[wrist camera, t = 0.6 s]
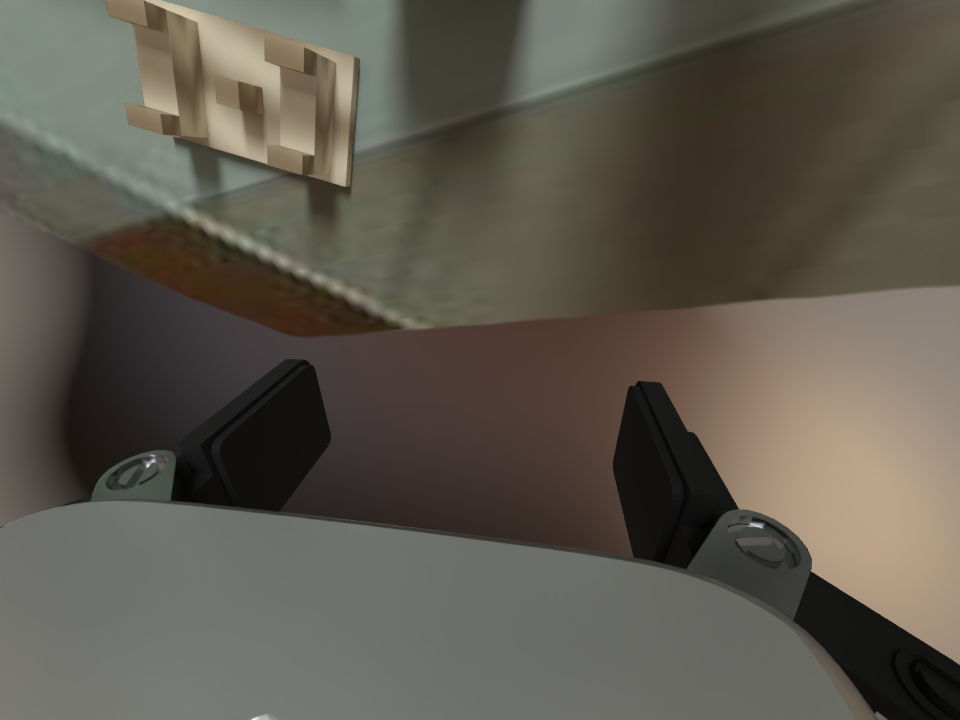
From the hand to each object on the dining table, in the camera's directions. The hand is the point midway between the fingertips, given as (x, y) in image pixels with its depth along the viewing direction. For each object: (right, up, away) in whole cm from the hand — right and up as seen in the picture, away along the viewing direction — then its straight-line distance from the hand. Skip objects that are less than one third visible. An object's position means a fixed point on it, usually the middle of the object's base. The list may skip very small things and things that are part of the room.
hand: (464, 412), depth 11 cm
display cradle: (-20, +25, +23) cm, 39 cm away
